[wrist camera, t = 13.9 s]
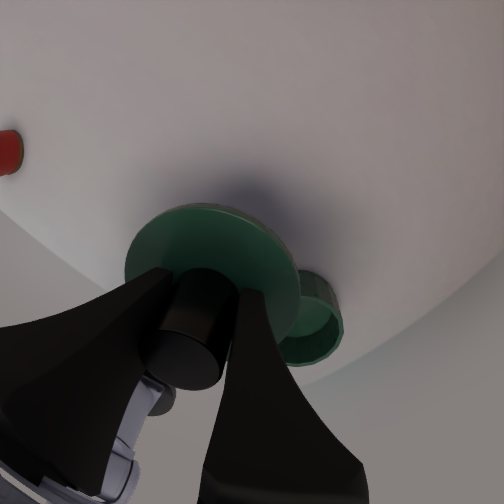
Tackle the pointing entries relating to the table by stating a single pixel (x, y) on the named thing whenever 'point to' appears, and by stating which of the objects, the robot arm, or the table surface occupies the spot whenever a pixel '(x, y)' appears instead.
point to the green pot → (313, 324)
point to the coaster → (19, 153)
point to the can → (8, 152)
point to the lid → (208, 288)
